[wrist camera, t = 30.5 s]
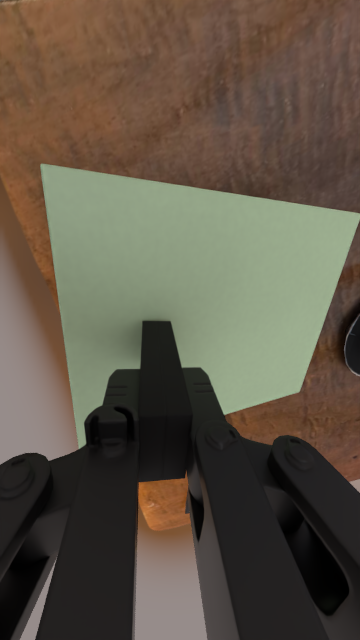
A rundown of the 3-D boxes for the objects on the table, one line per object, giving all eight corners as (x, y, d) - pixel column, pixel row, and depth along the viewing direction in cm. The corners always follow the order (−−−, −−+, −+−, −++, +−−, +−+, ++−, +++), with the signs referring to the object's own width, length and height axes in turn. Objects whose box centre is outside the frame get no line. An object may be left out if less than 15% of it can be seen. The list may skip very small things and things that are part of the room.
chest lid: (79, 448, 15) (80, 459, 14) (41, 166, 9) (39, 162, 8) (293, 386, 22) (299, 392, 22) (350, 213, 16) (362, 213, 16)
